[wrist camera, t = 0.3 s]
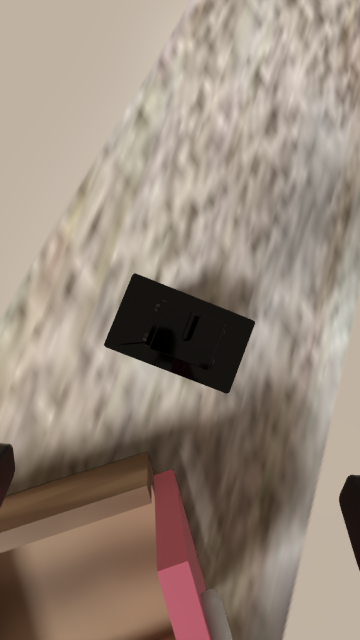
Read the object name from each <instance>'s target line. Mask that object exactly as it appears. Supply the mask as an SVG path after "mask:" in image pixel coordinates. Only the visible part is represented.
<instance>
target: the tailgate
mask: <svg viewBox="0 0 360 640" xmlns="http://www.w3.org/2000/svg"><path fill="white" fill-rule="evenodd" d="M154 490H155V524H156V557H157V574H158V577H159V581H160V585H161V588H162V592H163V595H164V599H165V602H166V606H167V610H168V613H169V617H170V620H171V624H172V627H173V631H174V635H175V638H176V640H233V639H232V635H231V632H230V628H229V625H228V621H227V617H226V614H225V610H224V606H223V603H222V599H221V596H220V593H219V592H218V591H217V590H215V589H208V590H207V589H206V586H205V582H204V579H203V575H202V571H201V568H200V564H199V560H198V557H197V553H196V550H195V546H194V542H193V539H192V535H191V532H190V528H189V524H188V521H187V517H186V513H185V510H184V506H183V503H182V499H181V495H180V492H179V488H178V485H177V481H176V477H175V474H174V470H173V469H171V470H168V471H165V472H162V473H159V474H156V475H154Z"/></svg>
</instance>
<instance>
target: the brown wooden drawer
mask: <svg viewBox="0 0 360 640" xmlns="http://www.w3.org/2000/svg"><path fill="white" fill-rule="evenodd" d="M0 640H176V638H175V635H174V631H173V627H172V624H171V620H170V617H169V613H168V610H167V606H166V602H165V599H164V595H163V592H162V588H161V585H160V581H159V577H158V574H157V557H156V524H155V490H154V474H153V471H152V467H151V463H150V460H149V456H148V453H147V452H145V453H142V454H139V455H136V456H132V457H129V458H126V459H123V460H120V461H117V462H113V463H110V464H107V465H104V466H101V467H97V468H94V469H91V470H88V471H85V472H81V473H78V474H75V475H72V476H69V477H65V478H62V479H59V480H56V481H53V482H49V483H46V484H43V485H40V486H37V487H33V488H30V489H27V490H24V491H21V492H17V493H14V494H11V495H8V496H5V498H4V501H3V503H2V506H1V508H0Z"/></svg>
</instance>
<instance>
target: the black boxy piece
mask: <svg viewBox="0 0 360 640" xmlns="http://www.w3.org/2000/svg"><path fill="white" fill-rule="evenodd" d="M254 325H255V322H254V321H253V320H251V319H248V318H246V317H243V316H241V315H238V314H236V313H233V312H231V311H228V310H226V309H223V308H221V307H218V306H216V305H213V304H211V303H208V302H206V301H203V300H201V299H198V298H196V297H193V296H191V295H188V294H186V293H183V292H181V291H178V290H176V289H173V288H171V287H168V286H166V285H163V284H161V283H158V282H156V281H153V280H151V279H148V278H146V277H143V276H141V275H138V274H133V275H132V277H131V280H130V282H129V285H128V287H127V290H126V292H125V294H124V297H123V299H122V302H121V304H120V307H119V309H118V312H117V314H116V316H115V319H114V321H113V324H112V326H111V329H110V331H109V333H108V336H107V338H106V341H105V343H104V346H105V347H107V348H109V349H112V350H115V351H117V352H120V353H122V354H125V355H128V356H130V357H133V358H135V359H138V360H141V361H143V362H146V363H148V364H151V365H154V366H156V367H159V368H161V369H164V370H167V371H169V372H172V373H174V374H177V375H180V376H182V377H185V378H187V379H190V380H193V381H195V382H198V383H200V384H203V385H206V386H208V387H211V388H214V389H216V390H219V391H221V392H224V393H229V392H230V389H231V386H232V384H233V381H234V378H235V376H236V373H237V370H238V368H239V365H240V362H241V360H242V357H243V354H244V352H245V349H246V346H247V343H248V341H249V338H250V335H251V333H252V330H253V327H254Z"/></svg>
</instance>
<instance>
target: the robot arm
mask: <svg viewBox="0 0 360 640" xmlns="http://www.w3.org/2000/svg"><path fill="white" fill-rule="evenodd" d="M14 472H15V461H14V453H13V447H12V445H10V444H4V443H0V508H1V506H2V503H3V501H4V498H5V496H6V493H7V491H8V489H9V486H10V484H11V481H12V479H13V476H14ZM339 503H340V507H341V511H342V514H343V517H344V520H345V524H346V528H347V531H348V534H349V538H350V541H351V545H352V548H353V551H354V555H355V558H356V561H357V564H358V567H359V570H360V475H350V476H348V478H347V480H346V482H345V484H344V486H343V489H342V491H341V493H340V496H339Z"/></svg>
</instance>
